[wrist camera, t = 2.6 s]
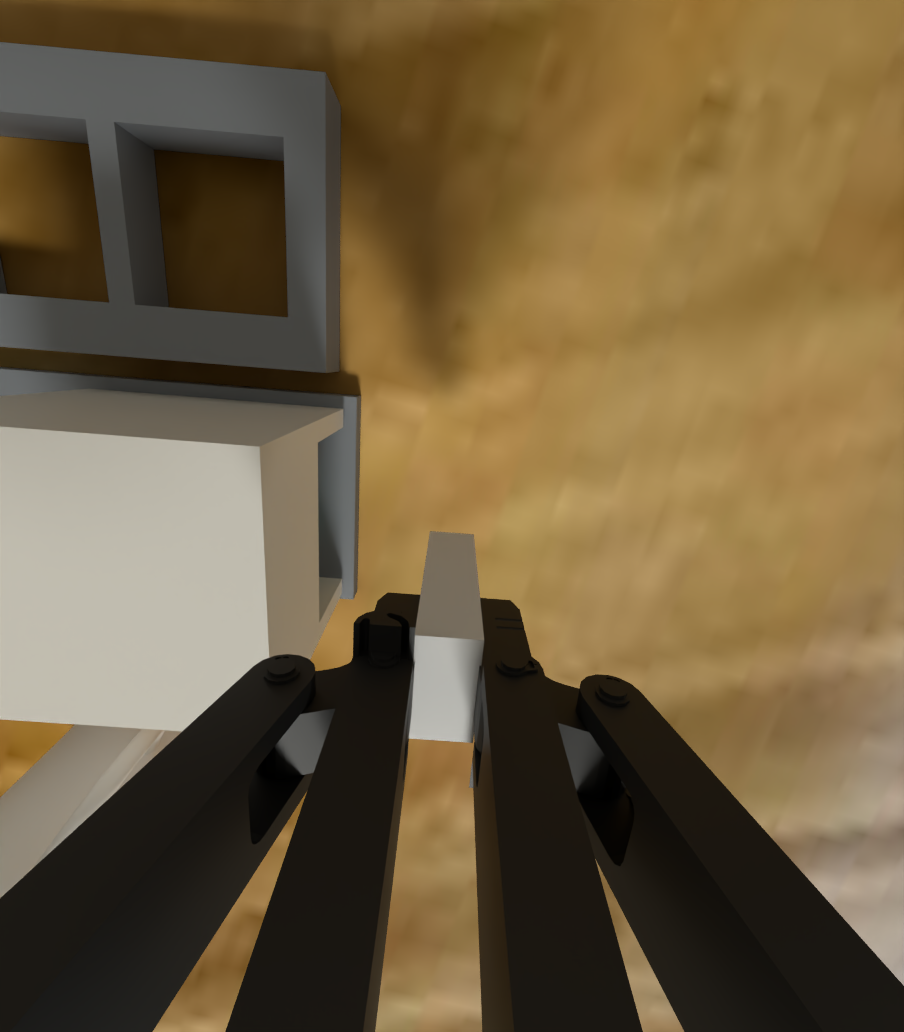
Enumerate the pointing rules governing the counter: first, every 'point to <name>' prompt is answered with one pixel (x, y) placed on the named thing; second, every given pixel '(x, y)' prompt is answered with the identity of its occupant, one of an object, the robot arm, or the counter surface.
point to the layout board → (333, 451)
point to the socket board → (135, 205)
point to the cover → (153, 551)
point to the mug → (68, 790)
